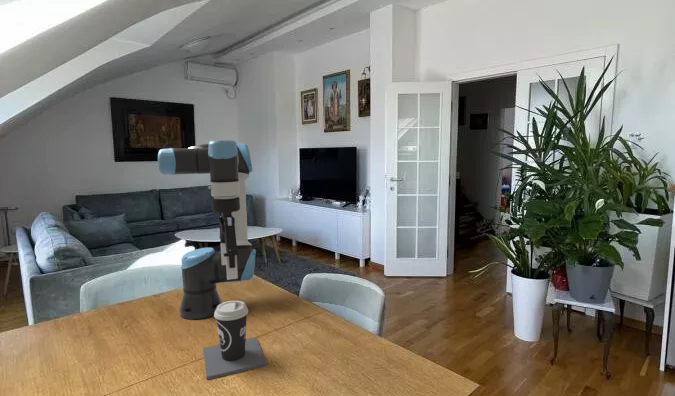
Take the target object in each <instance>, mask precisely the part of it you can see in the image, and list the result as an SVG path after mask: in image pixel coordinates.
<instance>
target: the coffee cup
mask: <svg viewBox="0 0 675 396" xmlns="http://www.w3.org/2000/svg"><path fill="white" fill-rule="evenodd" d="M248 314H249V309H248V306H247V305H246V304H245V302H244V301H241V300H228V301H227V300H226V301H224V302H222V303H221V304H219V305H218V306H217V309H216V310H215V313H214V315H213V317H214V318H215V321H216V326H217V327H216V328H217V334H218V339H219V344H220V347H221V354H222V358H223V359H224V360H226V361H236V360H239V359H241V358H242V357H243V356H244V355H245V342H246V339H247V337H246V336H247V318H248V317H247V315H248Z"/></svg>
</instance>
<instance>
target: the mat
mask: <svg viewBox="0 0 675 396" xmlns="http://www.w3.org/2000/svg"><path fill="white" fill-rule="evenodd" d="M202 351H203V359H204V368H205V375H206V380H207V381H208V380H211V379H215V378H220V377H224V376H225V377H226V376H228V375H233V374H237V373H242V372H245V371H249V370H254V369H259V368H263V367H266V366H268V363H267V361H266V357H265V355H264V353H263V351H262V348H261V345H260V343H259V341H258V338H257V336H255V337H249V338H248V337H247V338H246V342H245V355H244V356H243V357H242V358H241V359H239V360H236V361H226V360H224V359H223V358H222V354H221V347H220V343H219V344H215V345H214V344H213V345H211V346H209V345H208V346H204V347H203V348H202Z"/></svg>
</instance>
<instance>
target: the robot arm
mask: <svg viewBox="0 0 675 396" xmlns="http://www.w3.org/2000/svg"><path fill="white" fill-rule="evenodd" d="M250 153H251V152H250V147H249V146H248V144H247V143H238V142H236V141H235V140H222V139H221V140H220V139H219V140H210V141H209V142H208V143H204V144H199V145H194V146H193V145H192V146H190V147H188V148H187V147H186V148H185V147H184V148H183V147H182V148H180V147H179V148H177V147H176V148H174V147H173V148H172V147H169V148H161V149H159V150H158V154H157V167H158V171H159V172H160V173H161V174H162V175H170V176H174V175H194V174H195V175H196V174H198V175H203V174H209V176H210V177H209V178H210V179H209V181H210V184H211V185H208V187H207V189H208V190H210V195H211V197H212V198H211V201H210V203H211V211H212V212H213V213H215V214H218V215H219V217H218V225H219V239H220V240H219V242H220V251H216V250H215V249H214V248H213V247H200V248H198V249H194V250H190V251H188V252H186V253H184V255H182V257H181V267H180V269H181V275H182V276H181V277H182V287H183V295H182V298H181V302H180V306H179V316H180V317H181V318H183V319H187V320H202V319H207V318H210V317H214V313H215V310H216V309H217V306H218V305H219V304H221V303H223V300H222V299H221V297H220V293H219V291H218V289H217V284H222V283H223V284H224V283H235V282H236V283H237V282H239V283H240V282H244V281H245V282H246V281H250V280H252V279H253V278H254V274H255V265H256V254H257V252H256V251H257V250H256V249H255V248H253V245H252V243H251V242H249V240H248V237H249V236H248V215H247V212H248V211H247V193H246V189H247V187H246V181H247V180H248V179H249V177H250V173H252V172H253V165H252V159H251V154H250Z"/></svg>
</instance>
